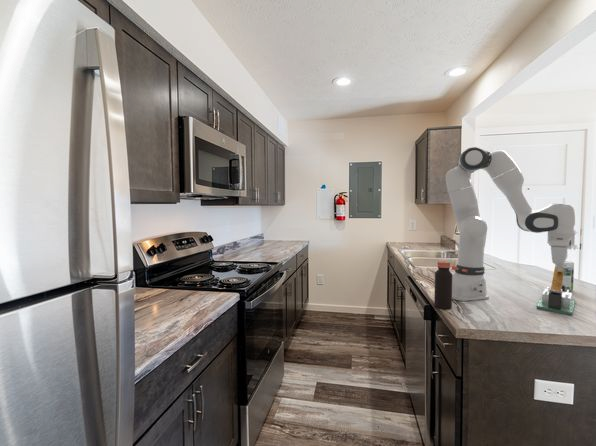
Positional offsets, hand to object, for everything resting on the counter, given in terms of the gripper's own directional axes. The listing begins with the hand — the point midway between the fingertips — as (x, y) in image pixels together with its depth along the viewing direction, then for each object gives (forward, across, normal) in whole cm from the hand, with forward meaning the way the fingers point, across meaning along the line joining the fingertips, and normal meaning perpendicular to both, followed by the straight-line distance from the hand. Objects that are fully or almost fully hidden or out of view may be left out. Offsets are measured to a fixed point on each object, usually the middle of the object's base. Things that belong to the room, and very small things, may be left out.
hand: (559, 271), depth 128 cm
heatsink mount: (+15, +3, -1) cm, 15 cm away
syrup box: (+15, -31, 0) cm, 34 cm away
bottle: (+14, +40, -35) cm, 55 cm away
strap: (+4, +4, 0) cm, 5 cm away
